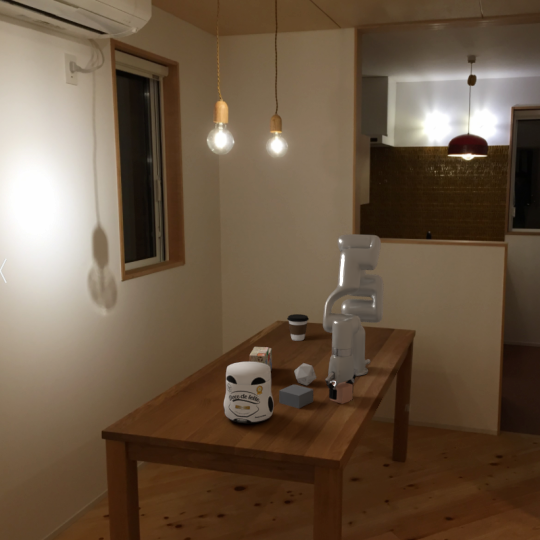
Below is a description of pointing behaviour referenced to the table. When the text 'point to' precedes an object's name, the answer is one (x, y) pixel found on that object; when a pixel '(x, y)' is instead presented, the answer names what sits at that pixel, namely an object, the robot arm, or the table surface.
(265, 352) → the stack of blocks
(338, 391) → the terracotta cube
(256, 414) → the milk container
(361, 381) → the table surface
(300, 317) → the coffee cup
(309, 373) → the die
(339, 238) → the robot arm
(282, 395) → the charcoal block
